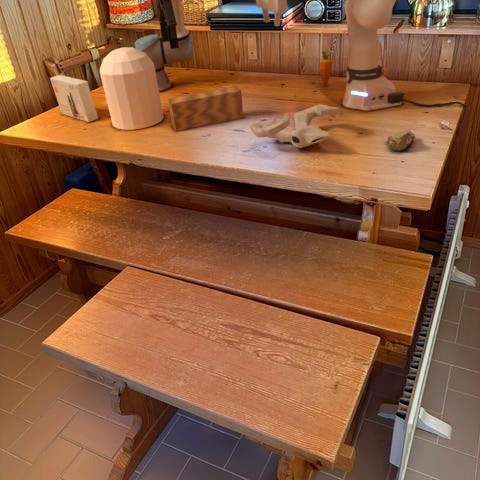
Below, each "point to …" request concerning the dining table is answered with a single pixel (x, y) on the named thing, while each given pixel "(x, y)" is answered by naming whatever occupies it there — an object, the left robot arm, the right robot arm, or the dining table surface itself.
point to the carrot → (325, 67)
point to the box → (206, 108)
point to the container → (131, 89)
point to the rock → (400, 140)
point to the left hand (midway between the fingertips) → (170, 44)
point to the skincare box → (74, 97)
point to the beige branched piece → (297, 127)
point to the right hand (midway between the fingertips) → (271, 23)
